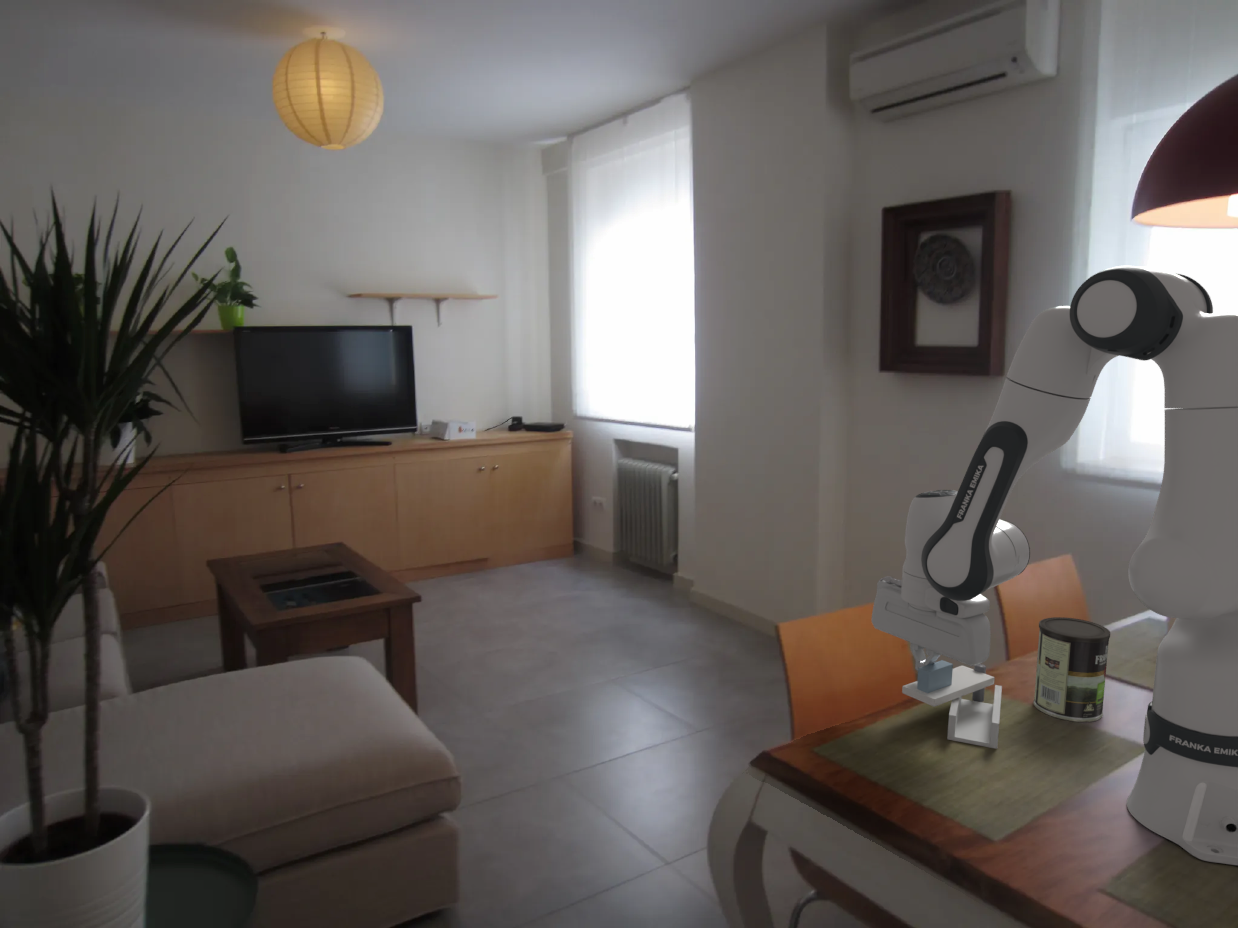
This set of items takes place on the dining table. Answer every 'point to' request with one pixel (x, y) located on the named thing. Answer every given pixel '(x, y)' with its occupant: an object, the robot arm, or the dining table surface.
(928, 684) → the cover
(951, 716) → the duct
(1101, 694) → the coffee can
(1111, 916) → the dining table surface
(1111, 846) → the dining table surface
